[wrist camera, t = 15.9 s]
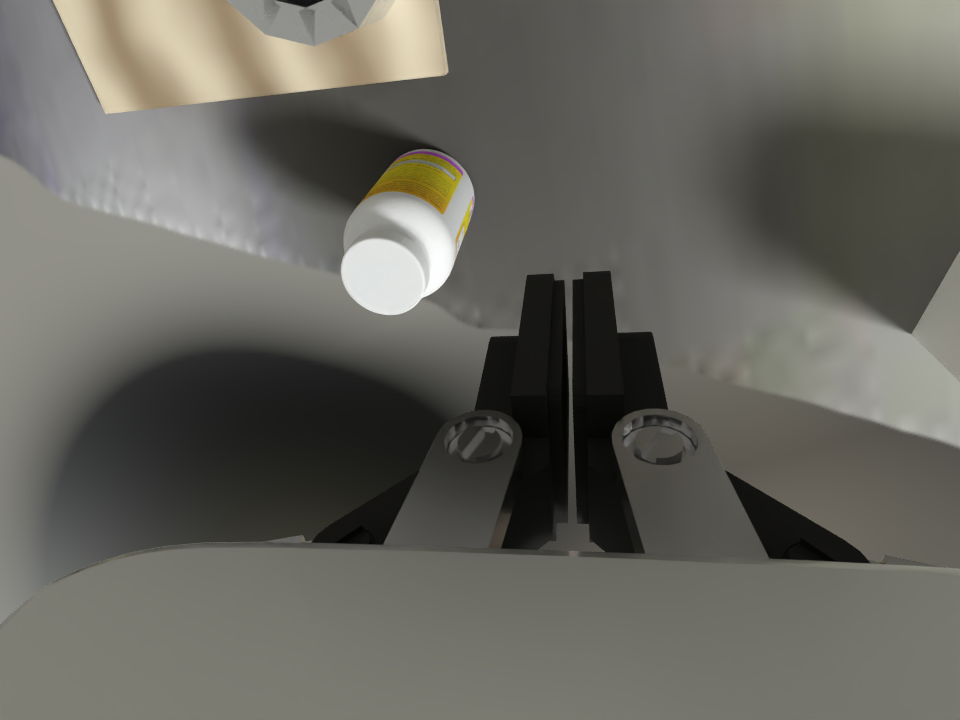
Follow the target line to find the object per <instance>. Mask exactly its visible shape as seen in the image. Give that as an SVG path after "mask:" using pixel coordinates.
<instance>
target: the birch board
mask: <svg viewBox="0 0 960 720" xmlns="http://www.w3.org/2000/svg"><path fill="white" fill-rule="evenodd" d="M53 2H54V4H55V6H56V8H57V10H58V12H59V15H60V17H61V19H62V21H63V23H64V25H65V27H66V30H67V32H68V34H69V36H70V38H71V40H72V42H73V45H74V47H75V49H76V51H77V53H78V55H79V58H80V60H81V62H82V64H83V66H84V68H85V70H86V73H87V75H88V77H89V79H90V81H91V83H92V85H93V88H94V90H95V92H96V94H97V96H98V98H99V100H100V103H101V105H102V107H103V109H104V111H105V113H106V114H109V113H118V112H127V111H136V110H144V109H153V108H162V107H171V106H179V105H188V104H197V103H206V102H214V101H223V100H232V99H241V98H249V97H258V96H267V95H276V94H284V93H293V92H302V91H310V90H319V89H328V88H337V87H345V86H354V85H363V84H372V83H380V82H389V81H398V80H407V79H415V78H424V77H433V76H442V75H446V74H447V73H448V65H447V58H446V51H445V43H444V36H443V29H442V22H441V15H440V7H439V0H396V1H395V2H394V4H393V5H392V7H391V8H390V10H389V11H388V13H387V14H386V16H385V17H384V19H382V20H379V21H377V22H374V23H372V24H369V25H367V26H364V27H362V28H360V29H357V30H355V31H352V32H350V33H347V34H345V35H343V36H340V37H338V38H335V39H332V40H330V41H327V42H325V43H322V44H319V45H317V46H311V45H306V44H302V43H298V42H294V41H290V40H286V39H281V38H277V37H273V36H269V35H265V34H264V33H263V32H262V31H261V30H259V29H258V28H257V27H256V26H255V25H254V24H253V23H252V22H250V21H249V20H248V19H247V18H246V17H245V16H244V15H242V14H241V13H240V12H239V11H238V10H237V9H236V8H235V7H233V6H232V5H231V4H230V3H229V2H228V1H227V0H53Z"/></svg>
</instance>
